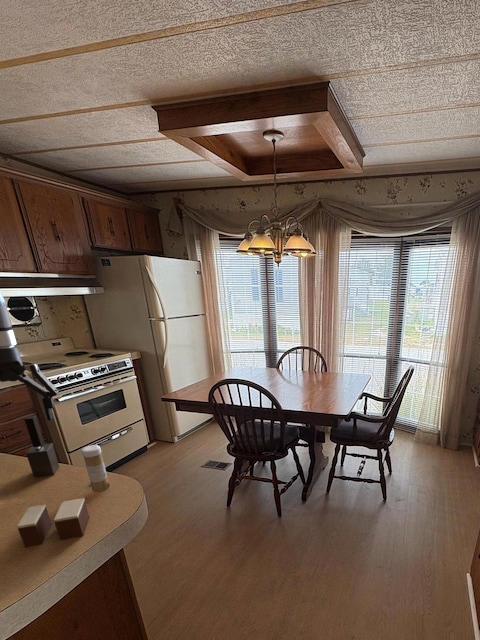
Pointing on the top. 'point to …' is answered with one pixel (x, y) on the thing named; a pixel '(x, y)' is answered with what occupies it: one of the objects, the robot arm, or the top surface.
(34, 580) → the top surface
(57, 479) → the top surface
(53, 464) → the knife block
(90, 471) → the sprinkles bottle
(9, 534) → the top surface
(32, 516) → the cake slice
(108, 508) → the top surface
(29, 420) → the knife
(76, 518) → the cake
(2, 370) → the robot arm
